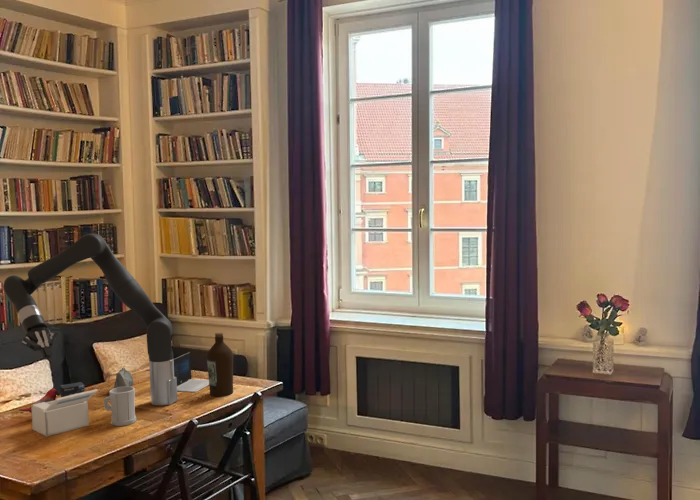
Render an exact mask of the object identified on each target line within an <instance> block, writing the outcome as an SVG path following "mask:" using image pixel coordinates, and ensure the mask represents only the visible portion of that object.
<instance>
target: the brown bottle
mask: <svg viewBox="0 0 700 500" xmlns="http://www.w3.org/2000/svg"><path fill="white" fill-rule="evenodd" d="M214 336H215V337H214V343H213V345H212V346H211V347H210V349H208V351H207V354H206V364H207V375H208V380H209V385H208V386H209V394H210V396H212V397H226V396H229V395H232V394H233V393H234V354H233V351H232V349H231V348H230V347H229V345H227V344H226V343H225V342H224V332H216V333H214Z"/></svg>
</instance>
